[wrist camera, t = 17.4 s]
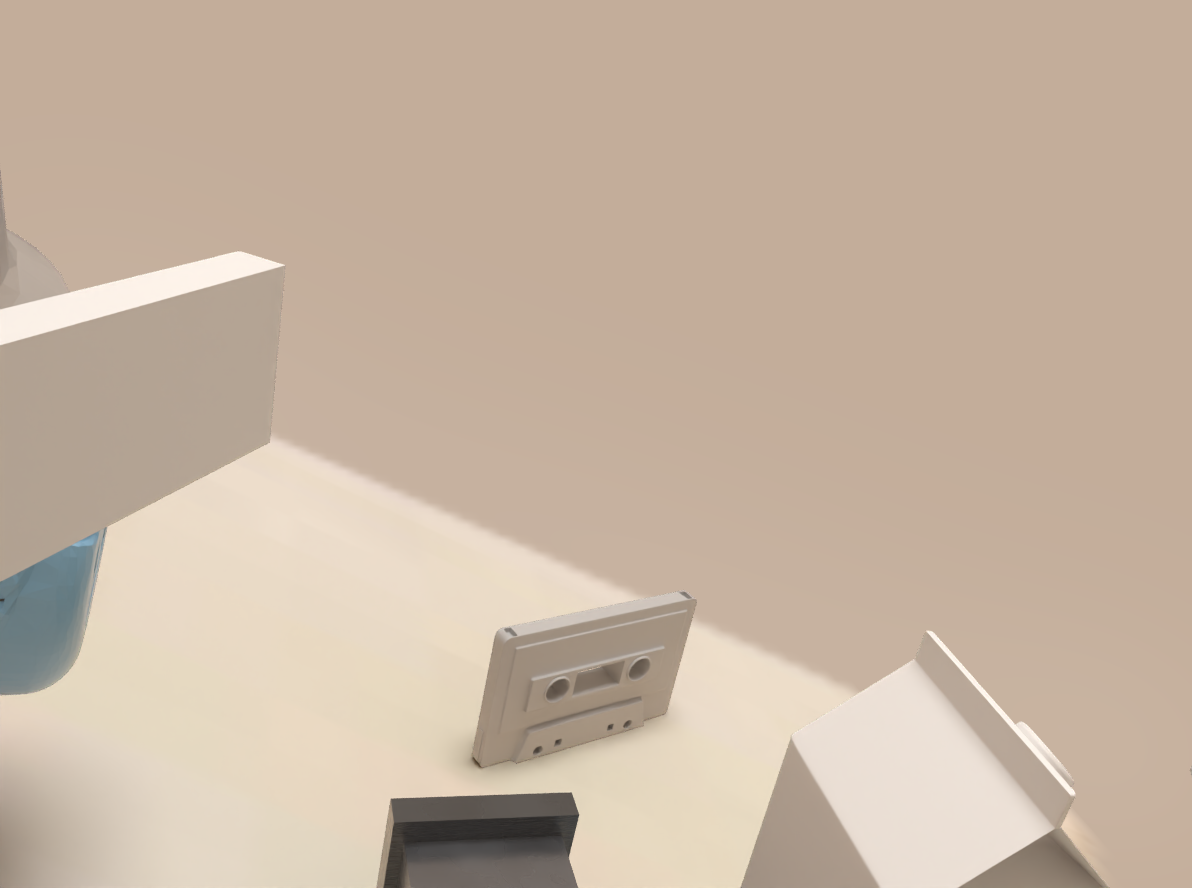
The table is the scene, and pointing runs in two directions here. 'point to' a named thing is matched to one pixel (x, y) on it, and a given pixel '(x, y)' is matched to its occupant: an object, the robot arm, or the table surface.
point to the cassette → (580, 677)
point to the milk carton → (919, 793)
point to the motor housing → (479, 842)
